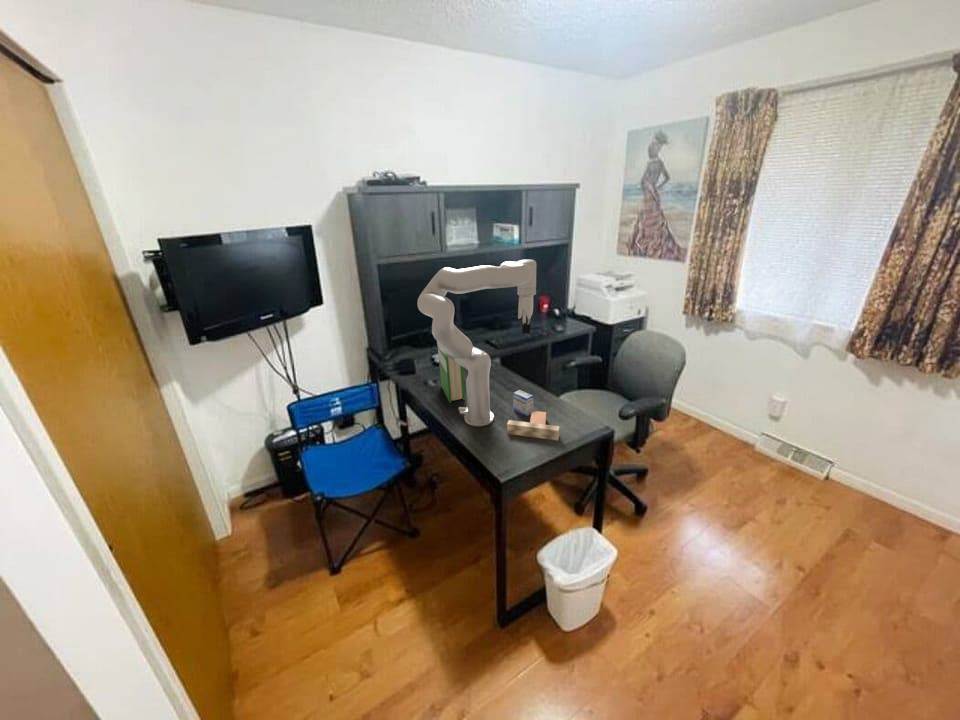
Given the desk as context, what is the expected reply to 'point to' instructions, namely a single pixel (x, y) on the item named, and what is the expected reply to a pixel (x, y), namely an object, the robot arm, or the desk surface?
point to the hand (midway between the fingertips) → (526, 332)
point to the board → (533, 430)
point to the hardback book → (451, 378)
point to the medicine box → (522, 402)
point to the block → (538, 417)
